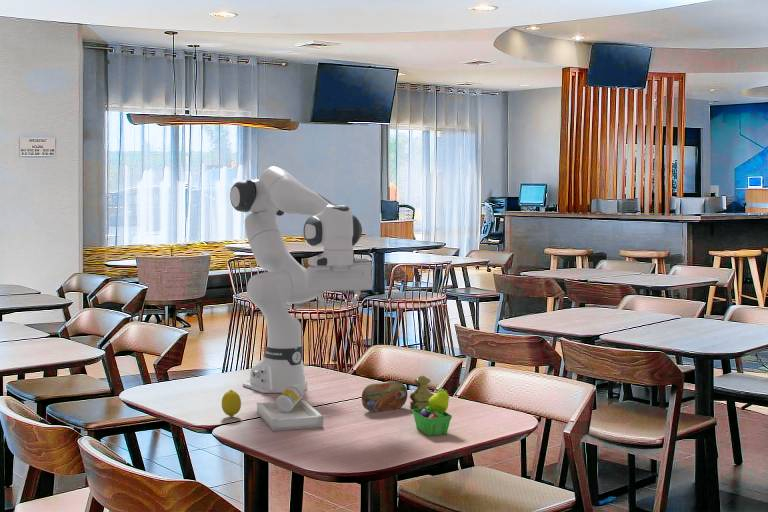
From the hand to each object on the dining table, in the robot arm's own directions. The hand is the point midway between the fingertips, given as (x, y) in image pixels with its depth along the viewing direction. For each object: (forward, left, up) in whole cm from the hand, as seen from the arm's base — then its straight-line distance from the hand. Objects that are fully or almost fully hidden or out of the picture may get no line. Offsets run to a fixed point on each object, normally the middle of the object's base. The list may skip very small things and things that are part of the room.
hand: (338, 305), depth 273 cm
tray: (-1, -19, -31) cm, 36 cm away
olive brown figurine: (+19, +16, -31) cm, 40 cm away
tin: (+11, +8, -31) cm, 34 cm away
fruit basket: (+37, -1, -31) cm, 49 cm away
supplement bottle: (-5, -18, -28) cm, 33 cm away
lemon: (-16, -28, -31) cm, 45 cm away
